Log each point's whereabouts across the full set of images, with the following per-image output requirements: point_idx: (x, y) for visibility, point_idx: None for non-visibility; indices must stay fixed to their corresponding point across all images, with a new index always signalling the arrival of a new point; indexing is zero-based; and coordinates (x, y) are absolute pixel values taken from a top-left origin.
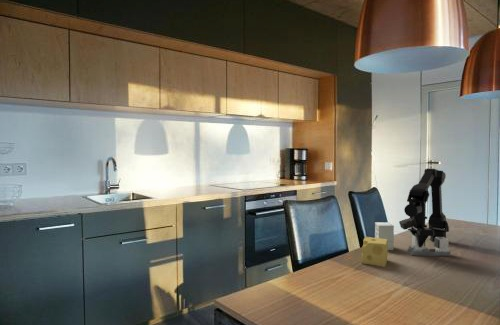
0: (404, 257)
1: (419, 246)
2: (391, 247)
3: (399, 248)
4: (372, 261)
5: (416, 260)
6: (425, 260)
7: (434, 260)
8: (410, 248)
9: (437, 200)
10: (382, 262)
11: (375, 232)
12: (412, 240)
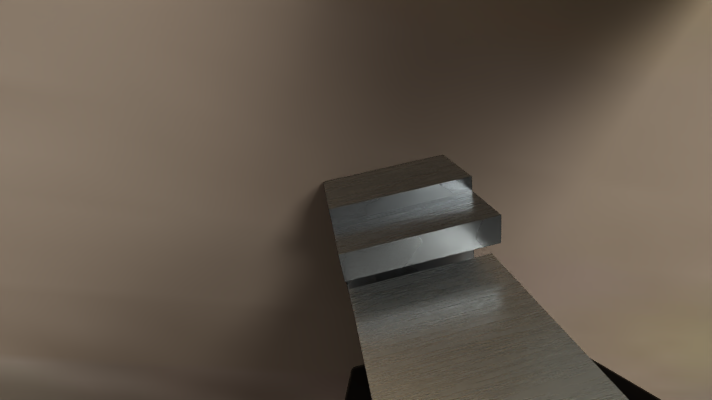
0: (159, 54)
1: (349, 383)
2: None
3: (640, 72)
4: None
5: (80, 215)
6: (148, 314)
7: (199, 387)
8: (410, 218)
9: None
10: None
11: None
12: (550, 357)
